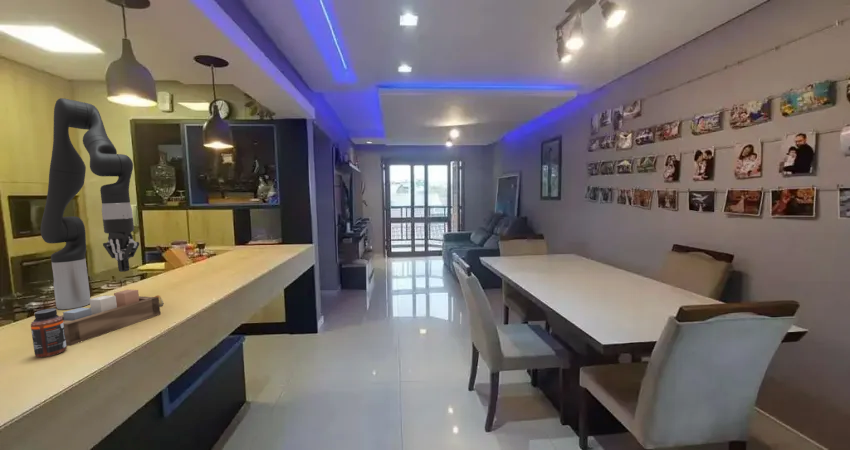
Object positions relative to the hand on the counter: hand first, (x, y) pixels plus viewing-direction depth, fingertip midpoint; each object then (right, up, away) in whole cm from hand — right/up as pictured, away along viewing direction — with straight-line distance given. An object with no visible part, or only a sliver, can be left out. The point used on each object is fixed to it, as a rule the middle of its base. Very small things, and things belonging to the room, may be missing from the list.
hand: (124, 271), depth 123 cm
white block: (-2, -12, -6) cm, 14 cm away
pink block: (0, -12, +1) cm, 12 cm away
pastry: (-2, -15, +15) cm, 21 cm away
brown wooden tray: (-1, -17, -5) cm, 17 cm away
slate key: (-3, -15, -12) cm, 19 cm away
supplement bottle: (0, -18, -24) cm, 31 cm away
